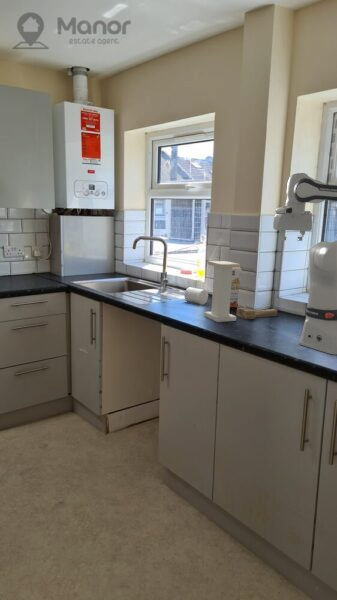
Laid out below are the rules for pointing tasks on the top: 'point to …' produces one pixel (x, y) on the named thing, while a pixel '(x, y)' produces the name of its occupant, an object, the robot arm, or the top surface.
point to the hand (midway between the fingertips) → (291, 240)
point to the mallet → (255, 313)
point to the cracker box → (235, 286)
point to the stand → (221, 291)
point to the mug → (196, 295)
